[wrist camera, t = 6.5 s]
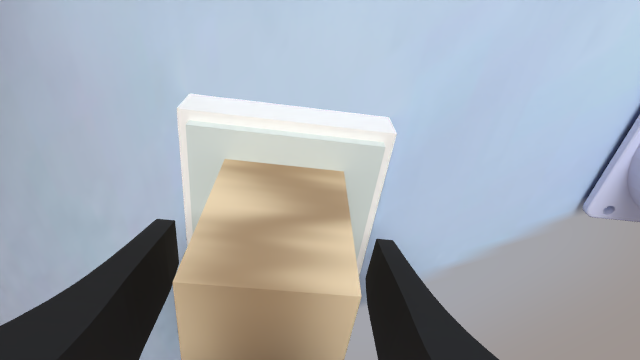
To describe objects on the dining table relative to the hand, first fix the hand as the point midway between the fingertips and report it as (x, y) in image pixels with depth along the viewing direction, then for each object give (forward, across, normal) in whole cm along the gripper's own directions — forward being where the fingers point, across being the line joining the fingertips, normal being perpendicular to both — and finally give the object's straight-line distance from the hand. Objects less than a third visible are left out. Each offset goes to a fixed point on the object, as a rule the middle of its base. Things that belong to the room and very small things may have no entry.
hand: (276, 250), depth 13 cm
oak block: (+2, 0, 0) cm, 2 cm away
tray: (+4, 0, 0) cm, 4 cm away
